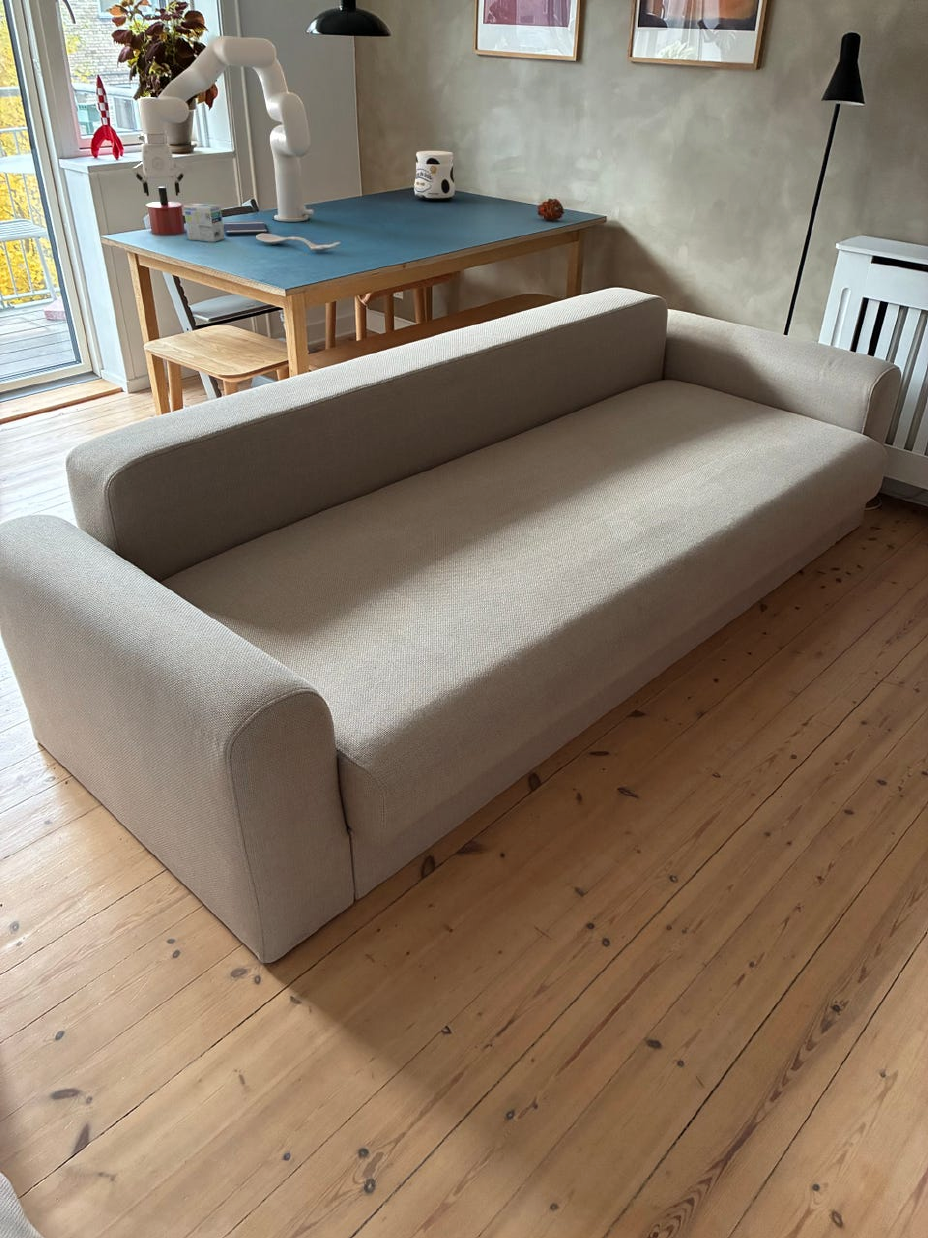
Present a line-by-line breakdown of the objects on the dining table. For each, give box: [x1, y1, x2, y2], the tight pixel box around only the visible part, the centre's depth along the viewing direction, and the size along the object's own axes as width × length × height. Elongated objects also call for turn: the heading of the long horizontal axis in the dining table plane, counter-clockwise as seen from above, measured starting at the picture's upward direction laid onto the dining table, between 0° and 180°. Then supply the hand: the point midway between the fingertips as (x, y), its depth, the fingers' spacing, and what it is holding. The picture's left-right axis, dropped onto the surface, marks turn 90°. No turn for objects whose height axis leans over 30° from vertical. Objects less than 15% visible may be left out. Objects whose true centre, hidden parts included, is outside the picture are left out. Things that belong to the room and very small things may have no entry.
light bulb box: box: [183, 202, 225, 243], centre depth 319 cm, size 11×7×11 cm, turn 71°
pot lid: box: [145, 186, 184, 209], centre depth 325 cm, size 12×12×7 cm
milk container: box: [413, 150, 456, 202], centre depth 397 cm, size 17×17×18 cm
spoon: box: [255, 233, 341, 252], centre depth 311 cm, size 9×32×4 cm, turn 56°
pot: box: [147, 206, 186, 236], centre depth 329 cm, size 11×17×8 cm
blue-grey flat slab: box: [223, 221, 269, 237], centre depth 337 cm, size 14×20×1 cm
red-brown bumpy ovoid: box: [536, 198, 565, 222], centre depth 363 cm, size 8×8×12 cm
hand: (162, 195), depth 325 cm, fingers open, 9 cm apart
